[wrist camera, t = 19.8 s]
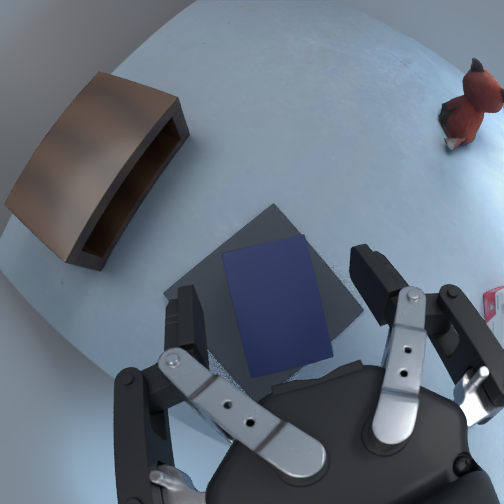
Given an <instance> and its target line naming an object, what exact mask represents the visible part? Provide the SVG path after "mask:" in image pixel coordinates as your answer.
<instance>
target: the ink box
mask: <svg viewBox="0 0 504 504" xmlns="http://www.w3.org/2000/svg"><path fill="white" fill-rule="evenodd" d="M483 297H484V308H485V323H486V324H487V325H488V327H489V328H490V330H491V331H492V333H493V334H494V336H495V337H496V339H497V340H498V342H499V343H500V345H501V346H502V348H503V349H504V286H502V287H499V288H495V289H493V290H490V291H488V292H486V293H484V295H483Z"/></svg>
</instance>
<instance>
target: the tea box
mask: <svg viewBox="0 0 504 504" xmlns="http://www.w3.org/2000/svg"><path fill="white" fill-rule="evenodd" d="M221 255H222V259H223V264H224V268H225V273H226V277H227V282H228V286H229V290H230V295H231V299H232V303H233V307H234V312H235V316H236V320H237V324H238V329H239V333H240V337H241V341H242V345H243V349H244V353H245V357H246V361H247V365H248V369H249V373H250V377H251V378H256V377H260V376H265V375H269V374H273V373H277V372H281V371H285V370H289V369H293V368H296V367H300V366H304V365H307V364H311V363H314V362H318V361H321V360H324V359H328V358H331V357H333V351H332V346H331V341H330V337H329V332H328V328H327V323H326V319H325V315H324V310H323V306H322V302H321V298H320V293H319V289H318V285H317V281H316V277H315V273H314V269H313V265H312V261H311V257H310V254H309V250H308V246H307V242H306V239H305V235H304V234H303V235H298V236H294V237H290V238H285V239H281V240H276V241H272V242H267V243H263V244H259V245H254V246H250V247H245V248H241V249H237V250H232V251H228V252H224V253H221Z"/></svg>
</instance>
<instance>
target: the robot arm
mask: <svg viewBox="0 0 504 504" xmlns="http://www.w3.org/2000/svg"><path fill="white" fill-rule="evenodd" d="M349 273H350V278H351V280H352V282H353V284H354V285H355V287H356V288H357V290H358V291H359V293H360V295H361V296H362V298H363V299H364V301H365V303H366V304H367V306H368V307H369V309H370V311H371V312H372V314H373V315H374V317H375V319H376V320H377V322H378V324H379V325H380V326H383V325H385V324H388V325H389V327H390V328H389V331H388V336H387V341H386V345H385V350H384V354H383V358H382V362H381V365H380V367H379V366H374V365H363V364H362V362H361V360H358V361H355V362H352V363H349V364H346V365H343V366H340V367H338V368H336V369H335V370H333V371H332V372H330V373H328V374H326V375H325V376H323V377H321V378H319V379H309V380H293V381H289V382H285V383H281V384H278V385H273V386H271V389H272V392H271V393H269V394H267V395H266V396H264V397H263V398H262V399H260V400H259V401H258V402H257V403H256V402H255V401H254V400H252V399H251V398H249V397H248V396H247V395H245V394H244V393H243V392H241V391H240V390H239V389H237V388H236V387H235V386H233V385H232V384H231V383H229V382H228V381H227V380H226V379H224V378H223V377H222V376H220V375H218V374H216V375H214V374H213V373H211V372H210V370H209V361H208V351H207V341H206V331H205V320H204V313H203V309H202V306H201V303H200V300H199V298H198V295H197V292H196V290H195V287H194V285H193V284H191V285H187V286H182V287H178V298H177V299H172V300H170V301H169V303H168V305H167V307H166V316H165V317H166V318H165V345H164V352H163V353H162V354H161V356H160V357H159V360H158V362H157V363H156V364H155V365H153V366H151V367H149V368H147V369H144V370H142V371H140V370H138V369H137V368H134V367H129V368H125V369H123V370H122V371H120V372H119V373H118V375H117V376H116V378H115V383H114V459H115V476H116V488H117V498H118V504H500V502H499V500H498V497H497V494H496V492H495V489H494V487H493V484H492V482H491V480H490V477H489V476H488V474H487V473H486V472H485V471H484V470H483V469H482V468H481V467H480V466H479V465H478V464H477V463H476V462H475V461H474V459H473V458H472V456H471V454H470V452H469V447H468V437H467V433H468V429H469V428H471V427H473V426H474V425H476V424H479V425H482V424H485V423H487V422H488V421H489V420H490V419H492V418H493V417H494V416H495V415H496V414H497V413H499V412H500V411H501V410H502V409H503V408H504V349H503V348H502V346H501V345H500V343H499V342H498V340H497V339H496V337H495V336H494V334H493V333H492V331H491V330H490V328H489V327H488V325H487V324H486V323H485V321H484V320H483V318H482V317H481V316H480V314H479V313H478V311H477V310H476V309H475V307H474V306H473V305H472V303H471V302H470V301H469V299H468V298H467V297H466V295H465V294H464V293H463V292H462V290H461V289H460V288H458V287H457V286H455V285H451V284H447V285H444V286H442V287H441V289H440V291H439V293H432V294H424V292H423V291H422V290H421V289H419V288H417V287H413V286H409V285H408V284H407V282H406V281H405V280H404V279H403V277H402V276H401V275H400V274H399V272H398V271H397V270H396V269H394V266H393V265H392V264H390V262H389V260H388V259H387V258H386V257H385V256H384V255H382V254H381V253H379V252H377V251H374V252H373V251H372V250H371V249H370V248H369V246H368V245H367V244H362V245H358V246H354V247H352V248H351V253H350V267H349ZM453 327H454V328H453ZM455 330H456V331H455ZM456 332H457V333H458V334H457V333H456ZM427 335H428V337H429V339H430V340H431V342H432V344H433V346H434V347H435V349H436V351H437V353H438V354H439V356H440V358H441V360H442V362H443V363H444V365H445V367H446V369H447V371H448V373H449V375H450V376H451V378H452V380H453V382H454V384H455V388H454V402H453V401H452V400H450V399H447V398H445V397H443V396H441V395H439V394H437V393H435V392H432V391H430V390H428V389H426V388H424V387H422V386H420V383H421V377H422V370H423V363H424V355H425V346H426V336H427ZM458 335H459V336H458ZM183 401H185V402H186V403H187V404H188V405H189V406H190V407H191V408H193V409H194V410H195V411H196V412H197V413H198V414H199V415H200V416H201V417H202V418H203V419H204V420H206V421H207V422H208V423H209V424H210V425H211V426H212V427H213V428H214V429H215V430H216V431H217V432H218V433H219V434H220V435H221V436H223V437H224V438H225V439H226V440H227V441H229V442H230V443H231V444H232V445H231V446H230V448H229V450H228V452H227V453H226V455H225V457H224V459H223V460H222V462H221V463H220V465H219V467H218V468H217V470H216V472H215V473H214V475H213V477H212V478H211V480H210V482H209V483H208V486H207V488H206V492H199V491H198V490H197V489H196V488H195V487H194V485H193V483H192V480H191V478H190V477H189V476H188V475H187V474H186V473H184V472H182V471H181V470H179V469H177V468H175V464H174V458H173V451H172V443H171V436H170V428H169V418H168V408H170V407H172V406H174V405H176V404H178V403H181V402H183Z"/></svg>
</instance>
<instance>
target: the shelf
mask: <svg viewBox="0 0 504 504" xmlns="http://www.w3.org/2000/svg"><path fill="white" fill-rule="evenodd" d="M189 135H190V133H189V130H188V127H187V124H186V121H185V118H184V114H183V111H182V108H181V104H180V101H179V98H178V97H176V96H174V95H171V94H168V93H165V92H163V91H160V90H157V89H154V88H151V87H148V86H145V85H142V84H139V83H136V82H133V81H130V80H127V79H124V78H120V77H117V76H114V75H110V74H107V73H103V72H100V71H99V72H98V73H97V74H96V75H95V76H94V77H93V79H92V80H91V81H90V82H89V83H88V84H87V85H86V86H85V87H84V89H83V90H82V91H81V92H80V93H79V94H78V95H77V96H76V98H75V99H74V100H73V101H72V102H71V104H70V105H69V106H68V107H67V108H66V110H65V111H64V112H63V113H62V115H61V116H60V117H59V119H58V120H57V121H56V123H55V124H54V125H53V127H52V128H51V129H50V131H49V132H48V133H47V135H46V136H45V137H44V139H43V140H42V142H41V143H40V145H39V146H38V148H37V149H36V151H35V152H34V154H33V155H32V157H31V158H30V160H29V161H28V163H27V165H26V166H25V168H24V170H23V171H22V173H21V175H20V176H19V178H18V180H17V181H16V183H15V185H14V187H13V188H12V190H11V192H10V194H9V196H8V198H7V200H6V202H5V204H4V205H5V206H6V207H7V208H8V209H9V210H10V211H11V212H12V213H13V214H14V215H15V216H16V217H17V218H18V219H19V220H20V221H21V222H22V223H23V224H24V225H25V226H26V227H27V228H28V229H29V230H30V231H31V232H32V233H33V234H34V235H35V236H36V237H37V238H38V239H40V240H41V241H42V242H43V243H44V244H45V245H46V246H47V247H48V248H49V249H50V250H52V251H53V252H54V253H55V254H56V255H57V256H58V257H59V258H61V259H62V260H63V261H64V262H65V263H69V264H73V265H77V266H81V267H85V268H89V269H93V270H97V271H101V270H102V268H103V266H104V264H105V263H106V261H107V259H108V257H109V255H110V254H111V252H112V250H113V248H114V247H115V245H116V243H117V242H118V240H119V238H120V237H121V235H122V233H123V232H124V230H125V228H126V227H127V225H128V223H129V222H130V220H131V218H132V217H133V215H134V214H135V212H136V211H137V209H138V207H139V206H140V204H141V203H142V201H143V200H144V198H145V197H146V195H147V194H148V192H149V191H150V189H151V188H152V186H153V185H154V183H155V182H156V180H157V179H158V178H159V176H160V175H161V173H162V172H163V170H164V169H165V168H166V166H167V165H168V163H169V162H170V161H171V159H172V158H173V157H174V155H175V154H176V152H177V151H178V150H179V148H180V147H181V146H182V144H183V143H184V142H185V140H186V139H187V138H188V136H189Z"/></svg>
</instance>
